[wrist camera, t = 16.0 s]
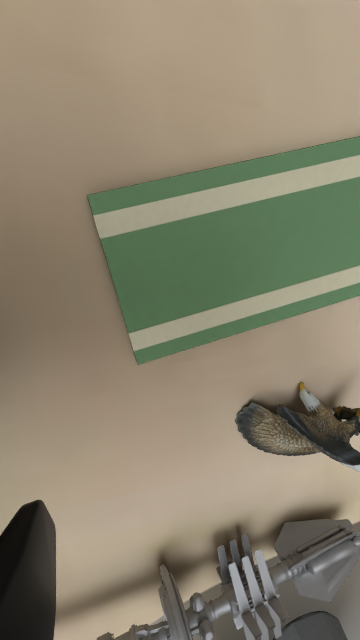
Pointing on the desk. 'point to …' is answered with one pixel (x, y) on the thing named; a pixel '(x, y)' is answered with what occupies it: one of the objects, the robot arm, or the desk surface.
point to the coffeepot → (313, 628)
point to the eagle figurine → (303, 430)
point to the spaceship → (259, 583)
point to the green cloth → (232, 245)
